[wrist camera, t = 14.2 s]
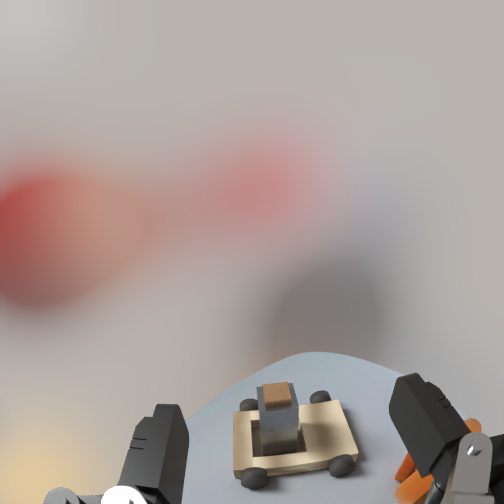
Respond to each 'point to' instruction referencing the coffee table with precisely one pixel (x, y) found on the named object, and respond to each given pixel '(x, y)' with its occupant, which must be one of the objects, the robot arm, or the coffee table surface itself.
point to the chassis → (308, 443)
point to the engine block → (278, 418)
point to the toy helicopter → (413, 485)
